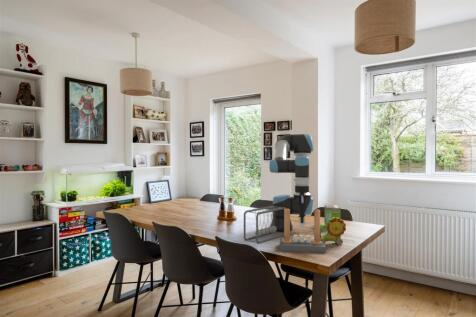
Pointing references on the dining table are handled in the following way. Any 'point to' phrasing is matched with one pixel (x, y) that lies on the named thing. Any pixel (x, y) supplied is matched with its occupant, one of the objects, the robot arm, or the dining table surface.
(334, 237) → the toy lion
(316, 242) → the post
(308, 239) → the breaker paddles
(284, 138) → the robot arm
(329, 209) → the tea box
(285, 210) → the post
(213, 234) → the dining table surface
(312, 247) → the breaker board
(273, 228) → the newton's cradle
